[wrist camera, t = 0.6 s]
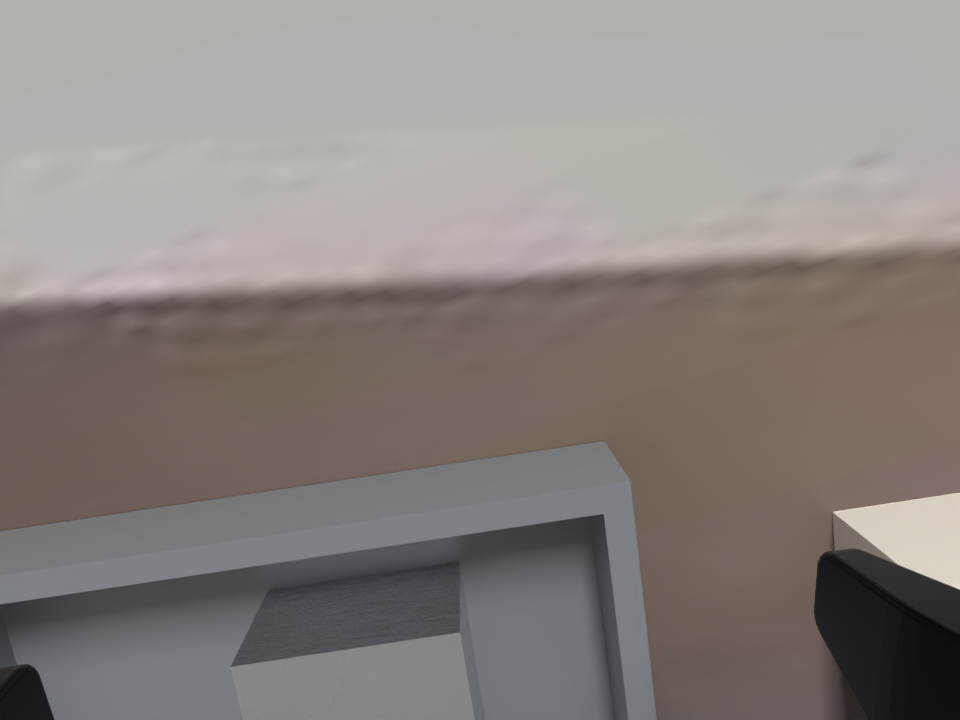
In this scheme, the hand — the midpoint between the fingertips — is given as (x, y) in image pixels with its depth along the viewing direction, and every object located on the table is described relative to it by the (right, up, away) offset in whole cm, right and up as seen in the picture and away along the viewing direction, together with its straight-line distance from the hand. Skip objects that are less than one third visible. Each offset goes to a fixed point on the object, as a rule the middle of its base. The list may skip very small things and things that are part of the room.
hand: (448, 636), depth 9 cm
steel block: (-3, -6, +15) cm, 17 cm away
